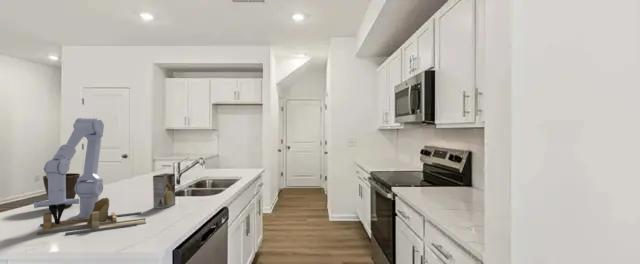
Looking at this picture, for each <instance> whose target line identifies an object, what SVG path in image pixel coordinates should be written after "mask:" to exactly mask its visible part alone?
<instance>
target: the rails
mask: <svg viewBox="0 0 640 264" xmlns="http://www.w3.org/2000/svg"><path fill="white" fill-rule="evenodd" d="M115 215H116V218H119V217H120V218H121V217H128V216H136V215H142V212H141V211H139V212H130V213H121V214H115ZM139 220H145V221H146V218H137V219H129V220H121V221H117V222H112V223H105V224H99V226H100V225H108V224H116V223H123V222H131V221H139ZM134 226H138V224H137V223H133V224H126V225H118V226H111V227H103V228H96V229H92V225H89V226H81V227H74V228H66V229H58V230H51V231H43V232H41V231H37V232H36V236H39V235H40V236H41V235H46V234H54V233H60V232H65V236H70V235H77V234H83V233H92V232H99V231H106V230H113V229H120V228H127V227H128V228H129V227H134ZM39 227H43V223H40V224H39ZM90 228H91V229H90Z"/></svg>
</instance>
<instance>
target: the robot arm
mask: <svg viewBox="0 0 640 264" xmlns="http://www.w3.org/2000/svg"><path fill="white" fill-rule="evenodd" d="M72 126H73V131H72V133H71V134H70V137H69V138H68V140H67V142H66V144H62V145H61V146H60V147H59V148H58V150H57V151H56V153H55V154H54V156H53V157H52V159H50V160H48V161H46V162H45V164H44V167H43V172H44V173H45V176H46V177H47V179H48V196H47V200H44V201H43V200H42V201H35V202H33V209H38V208H46V207H47V208H48V210H49V212H51V213H52V217H53V220H54V222H55V224H60V221H61V217H62V215H63V212H64V211H65V209H66V208H65V206H66V205H68V204H72V205H79V213H78V219H83V218H90V215H91V213H92V212H93V209H94V206H95V205H94V204H95V203H96V202H98V201H99V200H100V197H99V196H101V194H102V193H103V192H104V191H103V190H104V184H103V182H104V181H103V178H102V177H100V176H99V175H98V172H99V171H98V170H99V161H100V153H101V146H102V145H101V144H102V137H103V136H104V129H105V124H104V122H103V120H102V119H101V118H99V117H97V118H96V117H95V118H93V117H92V118H86V117H84V118H83V117H78V118H76V120H75V121H74V123H73V125H72ZM83 138H86V140H87V143H86V151H85V152H86V153H85V159H84V167H83V174H81V175H80V177H79V178H78V179H77V184H76V185H75V193H76V195H77V198H75V199H66V173H68V172H69V171H70V165H71V160H72V159H73V157H75V154H76V152H77V151H76V150H77V149H76V147H77V146H78V145H79V143H80V142H82V139H83ZM62 203H63V204H62ZM51 204H53V205H51ZM57 206H58V209H57Z"/></svg>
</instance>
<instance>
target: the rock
mask: <svg viewBox="0 0 640 264" xmlns="http://www.w3.org/2000/svg"><path fill="white" fill-rule="evenodd" d="M94 205H95V206H94V209H93V212H98V211H99V222H106V221H107V220H109V219H108V215H109V207H110V199H109V198H108V197H103V198H99V201H98V202H96V203H95V204H94ZM88 218H89V220H88V221H87V223H86V224H91V223H92V213H91V215H90V217H88Z"/></svg>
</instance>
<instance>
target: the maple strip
mask: <svg viewBox="0 0 640 264" xmlns="http://www.w3.org/2000/svg"><path fill="white" fill-rule="evenodd" d="M133 223H137V225H143V224H144V225H145V224H146V223H147V222H146V219H145V220H139V221H131V222H123V223H116V224H108V225H100V226H99V211H98V212H92V228H91V229H96V228H103V227H111V226H118V225H126V224H133Z"/></svg>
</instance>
